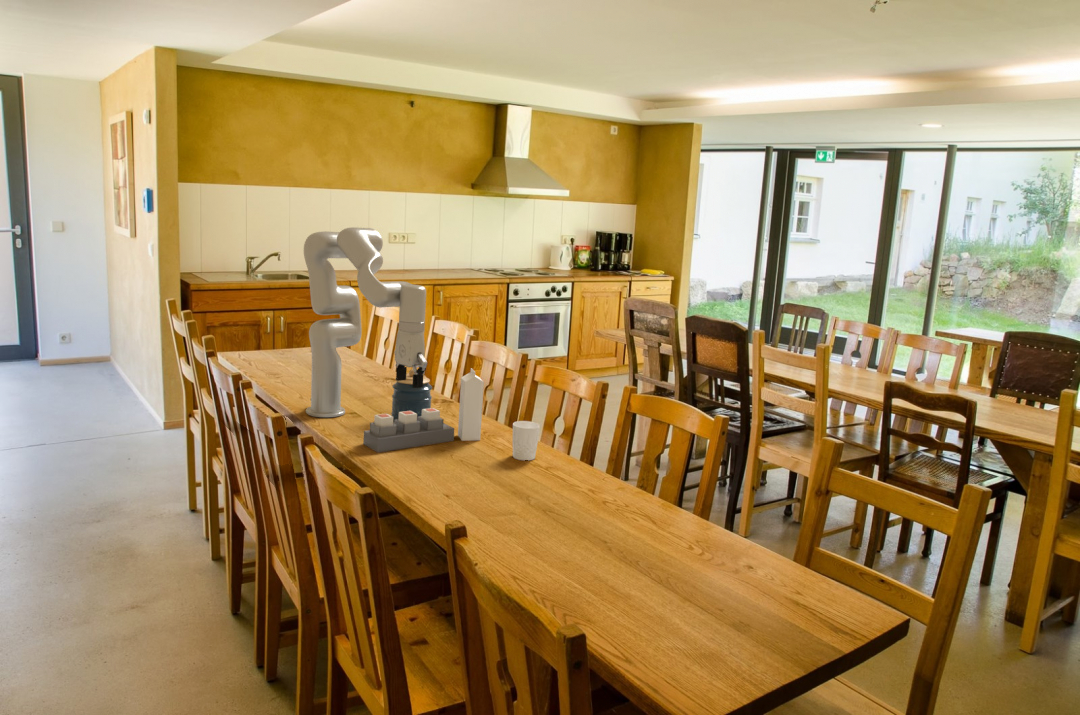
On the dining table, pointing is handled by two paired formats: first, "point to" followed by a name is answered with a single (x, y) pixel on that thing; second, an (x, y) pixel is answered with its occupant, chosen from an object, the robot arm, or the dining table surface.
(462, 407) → the milk
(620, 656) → the dining table surface
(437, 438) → the button panel
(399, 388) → the canister
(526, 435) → the white cup
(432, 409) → the button
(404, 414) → the button
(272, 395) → the dining table surface
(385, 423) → the button
